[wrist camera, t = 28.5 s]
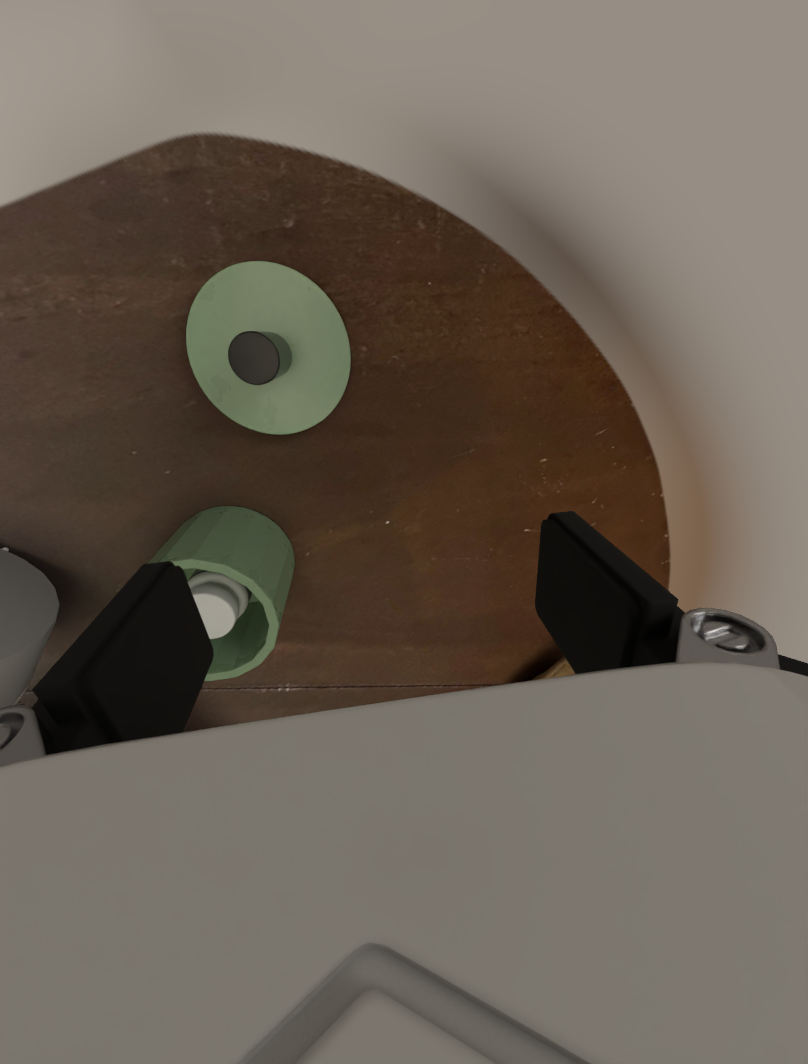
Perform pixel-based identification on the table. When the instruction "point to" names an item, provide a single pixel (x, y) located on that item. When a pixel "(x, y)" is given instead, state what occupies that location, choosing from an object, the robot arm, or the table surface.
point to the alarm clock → (22, 623)
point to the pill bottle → (218, 600)
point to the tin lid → (268, 347)
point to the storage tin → (238, 578)
